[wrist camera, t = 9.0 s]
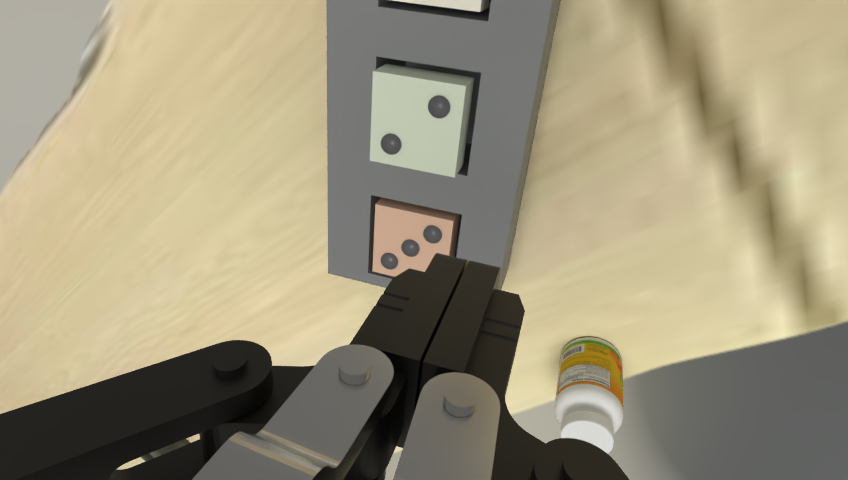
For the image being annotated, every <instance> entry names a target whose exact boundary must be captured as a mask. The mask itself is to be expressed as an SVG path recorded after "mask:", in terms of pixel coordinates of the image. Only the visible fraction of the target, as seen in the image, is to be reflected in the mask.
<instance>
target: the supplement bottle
mask: <svg viewBox="0 0 848 480" xmlns="http://www.w3.org/2000/svg"><path fill="white" fill-rule="evenodd" d="M555 414H556V417H557V419H558V421H559V423H560V424H561V433H560V437H561V438H574V439H579V440H583V441H586V442H589V443H591V444H593V445H595V446H597V447H599V448H600V449H602V450H603V451H605V452H606V453H607V454H608V453H609V452H610V451H611V450H612V448H613V445H614V433H615V432H616V431H617V430H618V429H619V427H620V426H621V424H622V421H623V376H622V360H621V357H620V354H619V352H618V351H617V350H616V349H615V347H613V346H612V345H611V344H610V343H608V342H606V341H604V340H601V339H598V338H593V337H584V338H579V339H576V340H573V341H571V342H570V343H569V344H567V345H566V346H565V348H564V349H563V351H562V354H561V359H560V367H559V375H558V383H557V392H556V400H555Z"/></svg>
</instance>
